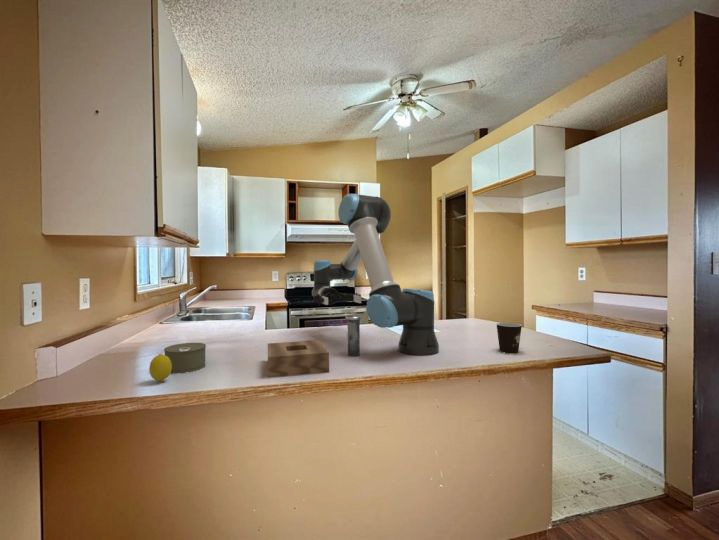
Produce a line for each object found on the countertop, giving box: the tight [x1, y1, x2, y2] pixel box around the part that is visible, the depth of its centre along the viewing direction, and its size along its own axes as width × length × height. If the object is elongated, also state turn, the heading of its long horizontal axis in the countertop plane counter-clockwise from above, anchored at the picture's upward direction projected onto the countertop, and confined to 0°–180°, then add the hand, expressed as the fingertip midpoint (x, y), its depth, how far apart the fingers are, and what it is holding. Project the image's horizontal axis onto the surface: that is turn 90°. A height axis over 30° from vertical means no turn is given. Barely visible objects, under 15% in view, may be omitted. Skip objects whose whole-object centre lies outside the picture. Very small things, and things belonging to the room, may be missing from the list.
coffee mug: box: [496, 322, 523, 354], centre depth 132 cm, size 12×9×10 cm
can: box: [163, 342, 207, 374], centre depth 113 cm, size 12×12×7 cm
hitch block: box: [267, 339, 330, 378], centre depth 114 cm, size 18×18×6 cm
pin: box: [345, 314, 363, 357], centre depth 128 cm, size 6×6×14 cm
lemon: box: [148, 353, 172, 383], centre depth 100 cm, size 6×6×8 cm
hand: (344, 300), depth 137 cm, fingers open, 13 cm apart
